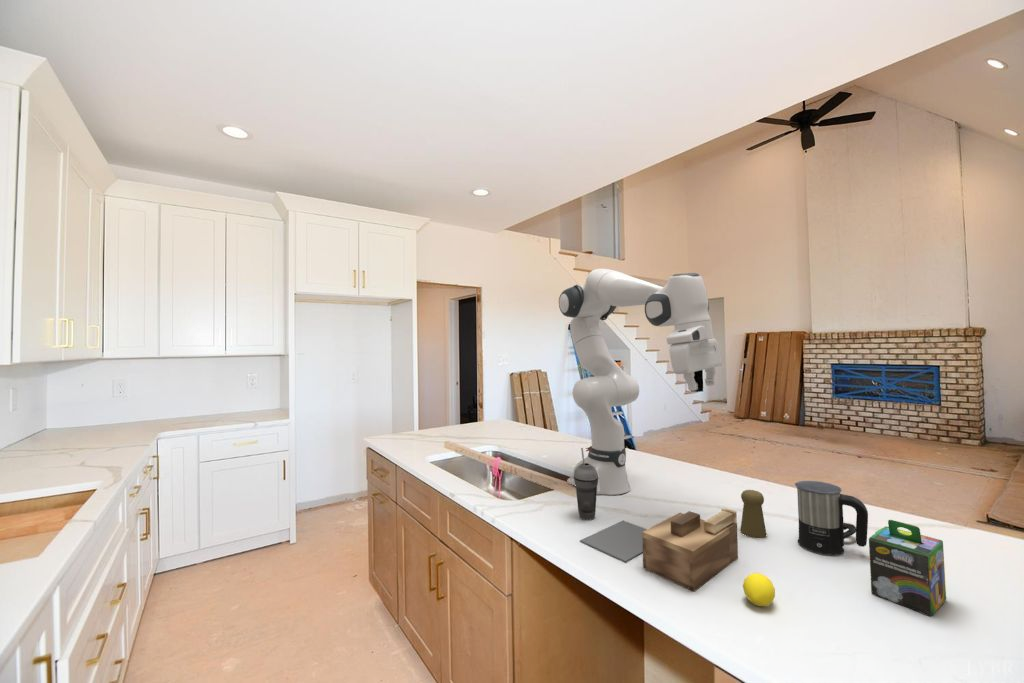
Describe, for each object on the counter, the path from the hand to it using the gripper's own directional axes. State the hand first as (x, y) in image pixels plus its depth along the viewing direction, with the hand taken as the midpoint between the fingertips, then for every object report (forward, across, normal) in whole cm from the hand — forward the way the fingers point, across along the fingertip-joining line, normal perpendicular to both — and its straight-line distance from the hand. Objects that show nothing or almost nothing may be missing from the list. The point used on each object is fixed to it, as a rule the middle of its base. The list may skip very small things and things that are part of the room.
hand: (702, 387), depth 110 cm
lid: (+32, +17, 0) cm, 37 cm away
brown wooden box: (+38, +16, -1) cm, 41 cm away
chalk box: (+43, -2, +33) cm, 54 cm away
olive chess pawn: (+40, -10, +3) cm, 41 cm away
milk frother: (+42, -18, +17) cm, 48 cm away
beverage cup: (+35, +12, -34) cm, 50 cm away
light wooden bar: (+31, +11, +4) cm, 33 cm away
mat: (+36, +17, -18) cm, 44 cm away
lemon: (+40, +20, +15) cm, 47 cm away
